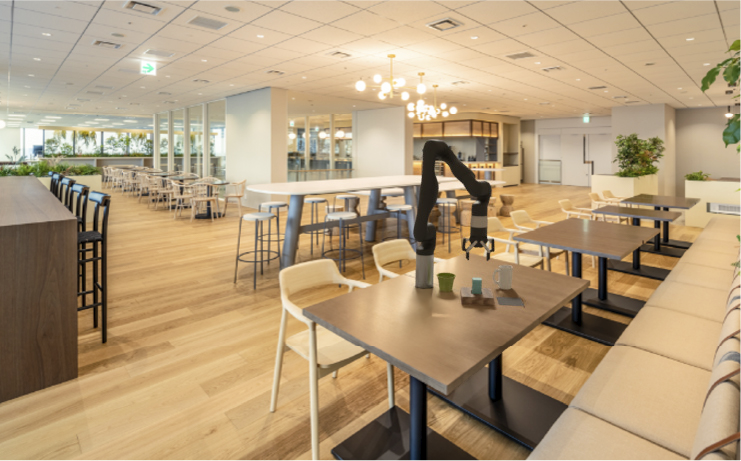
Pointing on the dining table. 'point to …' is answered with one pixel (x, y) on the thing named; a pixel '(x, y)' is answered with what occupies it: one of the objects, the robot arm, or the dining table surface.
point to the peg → (476, 285)
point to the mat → (510, 301)
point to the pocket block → (476, 296)
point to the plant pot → (446, 281)
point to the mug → (504, 276)
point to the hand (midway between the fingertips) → (477, 260)
